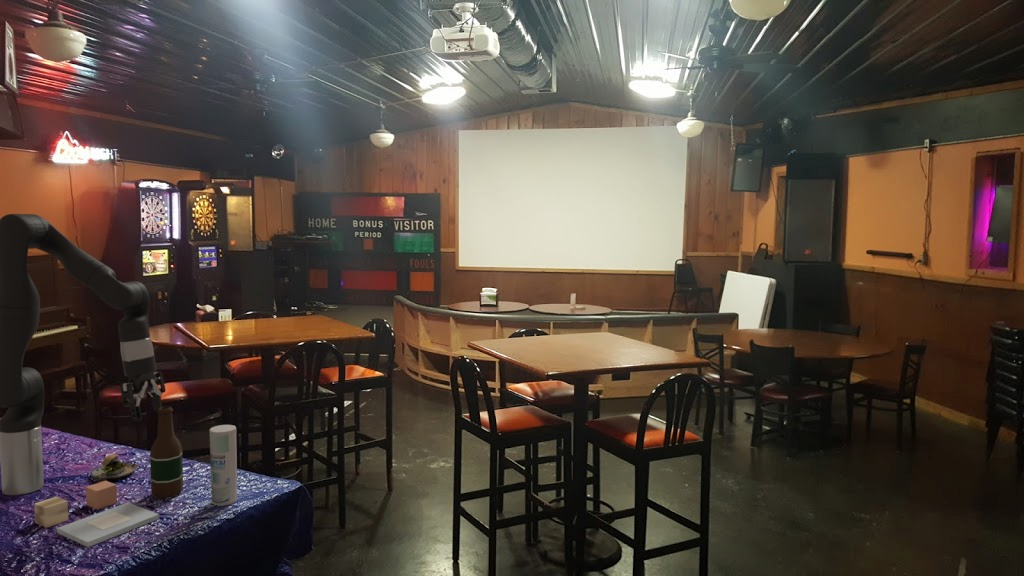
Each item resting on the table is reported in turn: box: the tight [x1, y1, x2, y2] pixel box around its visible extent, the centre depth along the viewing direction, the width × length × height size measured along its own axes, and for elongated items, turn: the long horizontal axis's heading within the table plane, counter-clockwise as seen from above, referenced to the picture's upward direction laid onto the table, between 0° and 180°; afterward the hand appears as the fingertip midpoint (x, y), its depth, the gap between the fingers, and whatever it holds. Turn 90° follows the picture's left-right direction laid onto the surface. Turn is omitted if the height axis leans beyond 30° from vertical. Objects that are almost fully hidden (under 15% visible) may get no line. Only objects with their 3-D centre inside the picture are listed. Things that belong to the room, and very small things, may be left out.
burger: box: [90, 451, 138, 483], centre depth 192 cm, size 12×12×8 cm
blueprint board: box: [56, 502, 160, 548], centre depth 161 cm, size 13×17×1 cm
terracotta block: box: [85, 480, 118, 510], centre depth 173 cm, size 5×5×5 cm
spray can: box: [209, 424, 238, 507], centre depth 175 cm, size 6×6×20 cm
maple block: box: [33, 495, 69, 529], centre depth 162 cm, size 5×5×5 cm
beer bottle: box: [149, 406, 184, 500], centre depth 179 cm, size 8×8×24 cm
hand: (148, 415), depth 177 cm, fingers open, 8 cm apart
